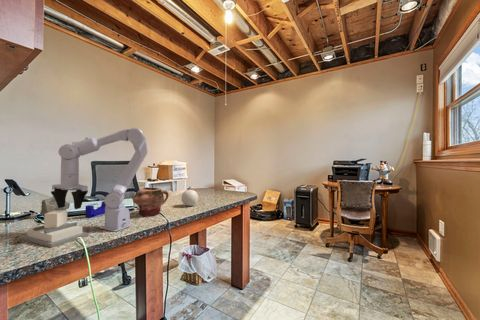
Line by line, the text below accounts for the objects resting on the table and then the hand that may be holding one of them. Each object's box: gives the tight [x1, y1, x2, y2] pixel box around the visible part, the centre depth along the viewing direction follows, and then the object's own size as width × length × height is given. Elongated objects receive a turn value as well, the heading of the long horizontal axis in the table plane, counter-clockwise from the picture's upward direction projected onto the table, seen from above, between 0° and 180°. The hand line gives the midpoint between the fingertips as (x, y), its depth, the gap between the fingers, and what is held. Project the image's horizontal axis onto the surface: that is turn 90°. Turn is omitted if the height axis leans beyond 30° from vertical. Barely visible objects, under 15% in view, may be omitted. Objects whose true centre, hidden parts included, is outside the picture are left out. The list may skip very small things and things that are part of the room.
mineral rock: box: [39, 195, 71, 216], centre depth 109 cm, size 13×11×10 cm
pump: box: [43, 209, 68, 228], centre depth 80 cm, size 4×8×5 cm, turn 11°
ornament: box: [181, 186, 199, 207], centre depth 136 cm, size 10×10×12 cm
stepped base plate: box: [20, 222, 90, 248], centre depth 80 cm, size 18×12×4 cm, turn 69°
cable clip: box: [84, 201, 106, 219], centre depth 111 cm, size 12×4×6 cm, turn 173°
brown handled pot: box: [133, 187, 169, 217], centre depth 115 cm, size 20×12×14 cm, turn 150°
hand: (69, 208), depth 86 cm, fingers open, 7 cm apart
